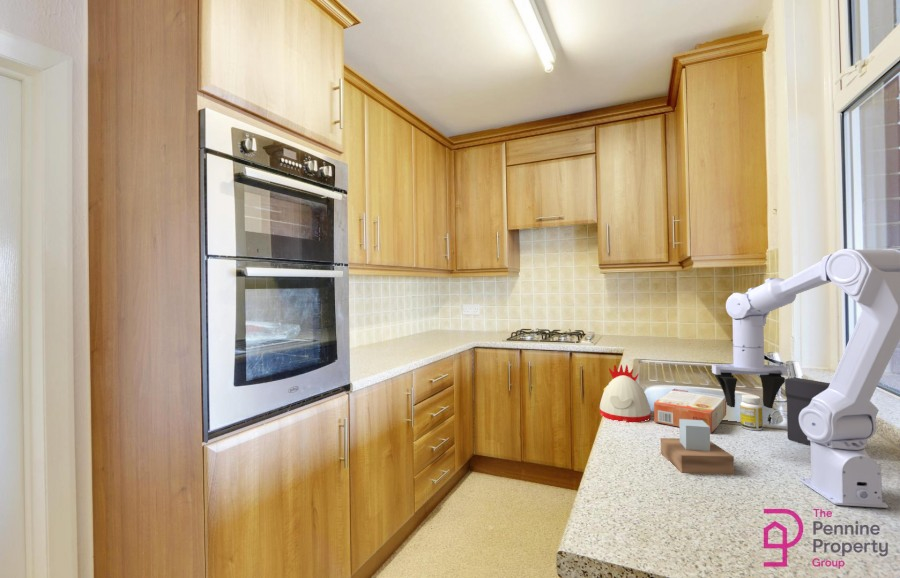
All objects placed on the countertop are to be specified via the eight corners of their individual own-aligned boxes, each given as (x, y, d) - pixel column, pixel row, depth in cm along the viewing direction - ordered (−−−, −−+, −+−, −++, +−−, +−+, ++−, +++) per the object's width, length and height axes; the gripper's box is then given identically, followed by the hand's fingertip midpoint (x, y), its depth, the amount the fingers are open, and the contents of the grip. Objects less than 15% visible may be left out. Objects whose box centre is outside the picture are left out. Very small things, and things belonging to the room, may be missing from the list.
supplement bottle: (755, 425, 112) (754, 394, 112) (767, 431, 108) (766, 398, 108) (736, 424, 113) (736, 394, 113) (747, 430, 108) (746, 398, 108)
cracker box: (711, 435, 106) (727, 415, 121) (711, 412, 106) (727, 394, 121) (653, 423, 115) (674, 406, 131) (652, 401, 115) (674, 387, 131)
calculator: (852, 453, 93) (851, 385, 93) (841, 456, 91) (840, 387, 91) (796, 437, 103) (795, 376, 103) (785, 439, 101) (784, 378, 101)
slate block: (710, 451, 86) (710, 427, 86) (686, 449, 87) (685, 425, 87) (702, 443, 90) (702, 420, 90) (679, 441, 91) (679, 418, 91)
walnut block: (734, 476, 83) (733, 456, 83) (681, 475, 84) (681, 455, 84) (707, 456, 93) (706, 438, 93) (660, 455, 94) (660, 438, 94)
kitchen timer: (604, 406, 132) (604, 359, 132) (652, 412, 125) (651, 362, 125) (595, 418, 120) (594, 366, 121) (647, 425, 113) (647, 370, 113)
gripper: (772, 344, 97) (773, 402, 97) (705, 343, 99) (706, 400, 99) (792, 348, 90) (794, 411, 90) (719, 348, 92) (720, 409, 92)
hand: (749, 406), depth 94 cm, fingers open, 7 cm apart
